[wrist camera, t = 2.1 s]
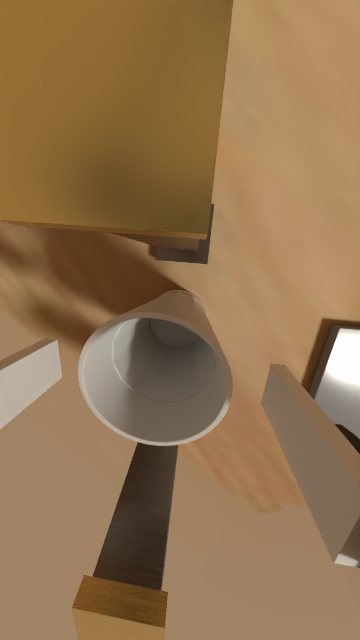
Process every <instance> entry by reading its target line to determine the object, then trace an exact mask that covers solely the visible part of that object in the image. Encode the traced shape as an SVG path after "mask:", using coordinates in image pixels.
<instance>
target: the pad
mask: <svg viewBox="0 0 360 640" xmlns="http://www.w3.org/2000/svg"><path fill="white" fill-rule="evenodd" d="M309 395H310V396H311V397H312V398H313V399H314V401H315V402H316V403H317V404H318V405H319V407H320V408H321V409H322V410H323V411H324V412H325V414H326V415H327V416H328V417H329V418H330V420H331V421H332V422H333V423H334V424H341V425H343V426H344V427H345V428H347V429H348V430H349V431H351V432H352V433H353V434H355V435H356V436H357V437H358V438H359V439H360V327H354V326H344V325H334V324H332V326H331V329H330V332H329V335H328V337H327V340H326V343H325V346H324V349H323V352H322V355H321V358H320V361H319V364H318V367H317V369H316V372H315V375H314V378H313V381H312V384H311V387H310V390H309Z"/></svg>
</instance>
